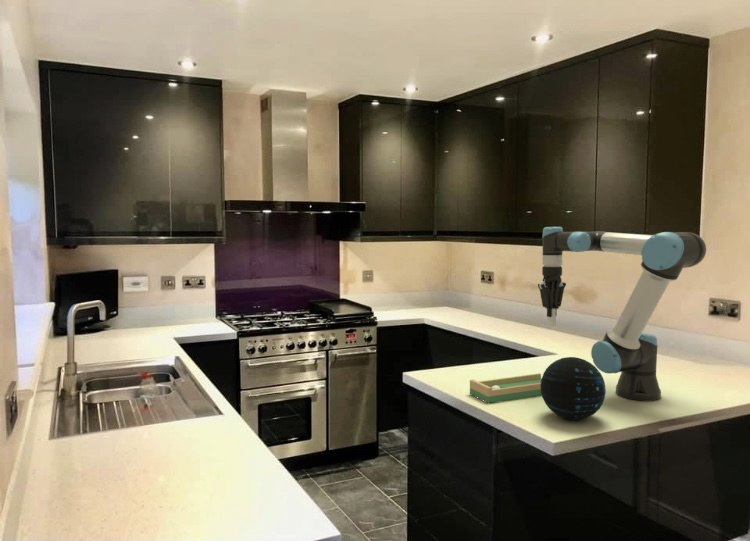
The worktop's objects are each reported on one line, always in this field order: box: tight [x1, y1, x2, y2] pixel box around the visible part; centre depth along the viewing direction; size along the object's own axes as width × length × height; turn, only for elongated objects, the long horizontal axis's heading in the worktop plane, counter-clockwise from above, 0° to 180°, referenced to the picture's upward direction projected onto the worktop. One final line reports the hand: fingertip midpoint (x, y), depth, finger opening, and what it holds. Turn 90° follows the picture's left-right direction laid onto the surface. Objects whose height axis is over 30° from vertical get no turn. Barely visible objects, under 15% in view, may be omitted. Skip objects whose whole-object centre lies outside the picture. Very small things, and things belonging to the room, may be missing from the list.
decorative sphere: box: [540, 356, 607, 421], centre depth 184 cm, size 20×20×20 cm
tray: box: [469, 372, 542, 404], centre depth 212 cm, size 12×32×6 cm, turn 113°
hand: (551, 324), depth 227 cm, fingers closed
